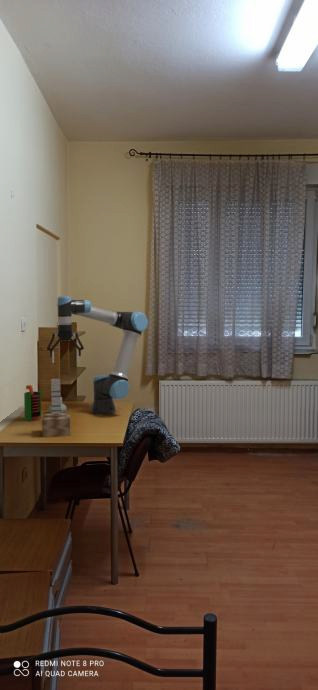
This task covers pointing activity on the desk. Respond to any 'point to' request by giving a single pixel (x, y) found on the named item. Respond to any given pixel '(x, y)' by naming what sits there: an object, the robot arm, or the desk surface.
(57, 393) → the column
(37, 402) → the motor
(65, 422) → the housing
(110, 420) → the desk surface
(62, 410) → the air freshener
